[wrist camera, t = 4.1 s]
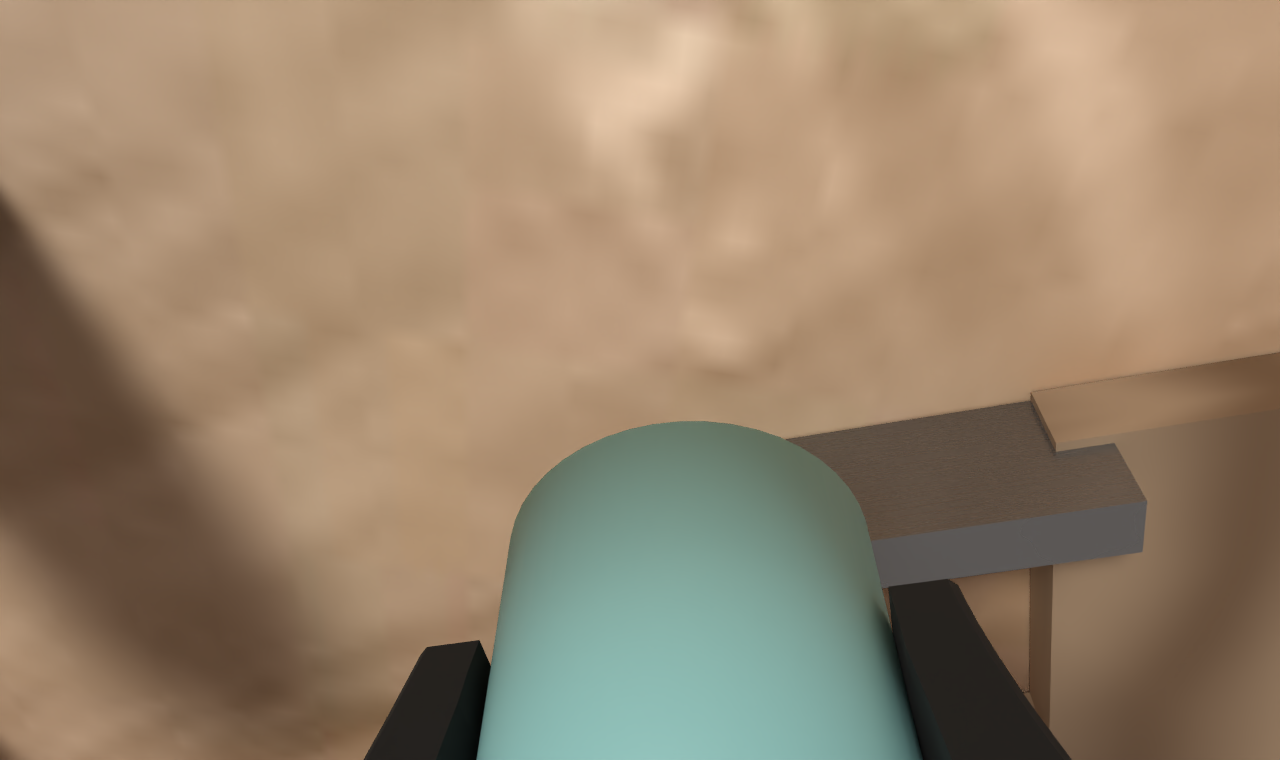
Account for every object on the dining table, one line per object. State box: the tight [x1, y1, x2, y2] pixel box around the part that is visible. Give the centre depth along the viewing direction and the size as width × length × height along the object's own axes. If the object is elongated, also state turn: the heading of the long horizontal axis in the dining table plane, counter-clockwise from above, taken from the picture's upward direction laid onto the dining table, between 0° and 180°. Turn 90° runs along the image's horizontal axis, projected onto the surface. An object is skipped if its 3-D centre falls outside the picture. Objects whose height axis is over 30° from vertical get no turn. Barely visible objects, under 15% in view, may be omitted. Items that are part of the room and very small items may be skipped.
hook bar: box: [786, 401, 1147, 588], centre depth 19 cm, size 9×1×3 cm, turn 102°
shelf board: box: [1023, 353, 1280, 760], centre depth 25 cm, size 14×20×2 cm
